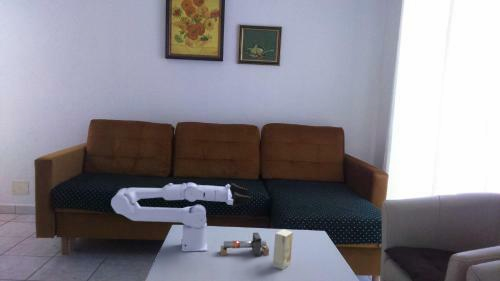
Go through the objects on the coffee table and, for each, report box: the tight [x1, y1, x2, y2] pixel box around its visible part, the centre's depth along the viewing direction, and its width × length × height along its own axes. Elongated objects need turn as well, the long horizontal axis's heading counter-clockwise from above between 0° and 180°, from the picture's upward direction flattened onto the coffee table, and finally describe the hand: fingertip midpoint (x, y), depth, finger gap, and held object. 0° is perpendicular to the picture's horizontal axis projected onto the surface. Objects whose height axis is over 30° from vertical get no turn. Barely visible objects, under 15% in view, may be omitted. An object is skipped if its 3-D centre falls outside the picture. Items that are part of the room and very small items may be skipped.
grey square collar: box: [251, 232, 262, 257], centre depth 133 cm, size 2×6×7 cm, turn 10°
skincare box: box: [272, 228, 294, 270], centre depth 125 cm, size 6×4×12 cm
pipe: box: [220, 240, 270, 257], centre depth 133 cm, size 18×4×5 cm, turn 100°
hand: (249, 196), depth 136 cm, fingers open, 7 cm apart
